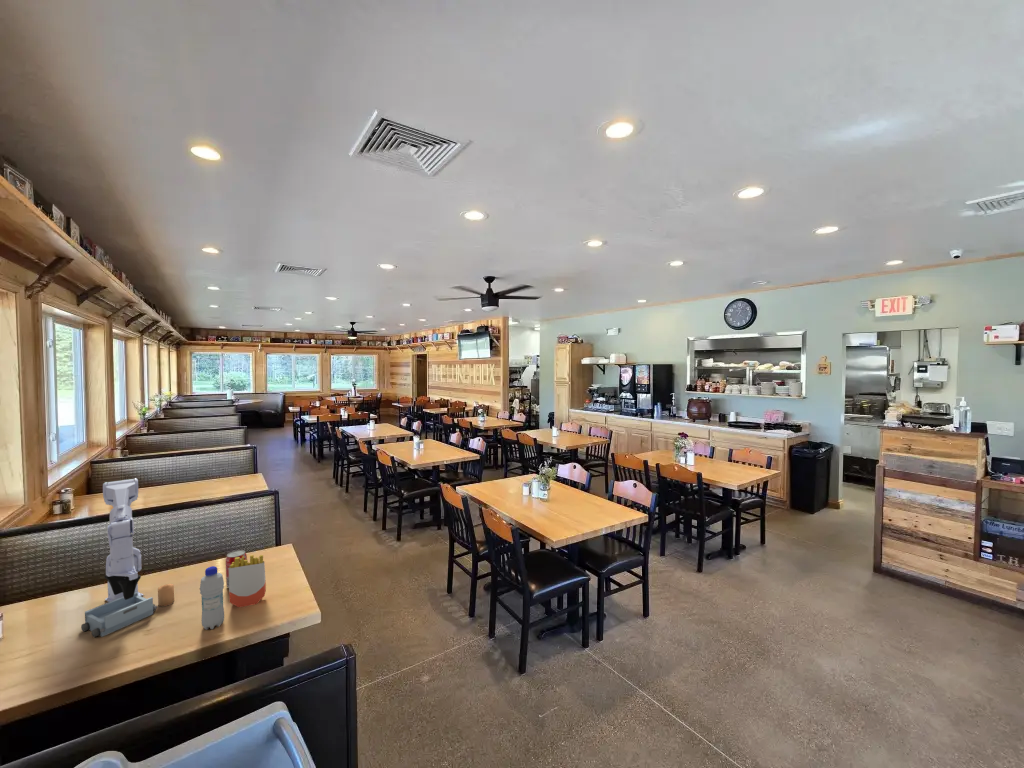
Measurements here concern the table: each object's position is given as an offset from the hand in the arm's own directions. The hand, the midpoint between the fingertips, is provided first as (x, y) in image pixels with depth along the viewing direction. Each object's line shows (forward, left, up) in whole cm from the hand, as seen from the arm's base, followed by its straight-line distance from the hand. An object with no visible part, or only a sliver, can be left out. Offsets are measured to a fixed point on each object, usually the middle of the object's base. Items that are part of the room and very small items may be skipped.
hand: (123, 595), depth 146 cm
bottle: (+29, +12, -10) cm, 32 cm away
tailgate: (+4, 0, -7) cm, 8 cm away
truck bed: (-3, 0, -9) cm, 10 cm away
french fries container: (+26, +26, -10) cm, 38 cm away
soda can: (+10, +32, -10) cm, 35 cm away
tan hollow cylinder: (-1, +13, -9) cm, 16 cm away
